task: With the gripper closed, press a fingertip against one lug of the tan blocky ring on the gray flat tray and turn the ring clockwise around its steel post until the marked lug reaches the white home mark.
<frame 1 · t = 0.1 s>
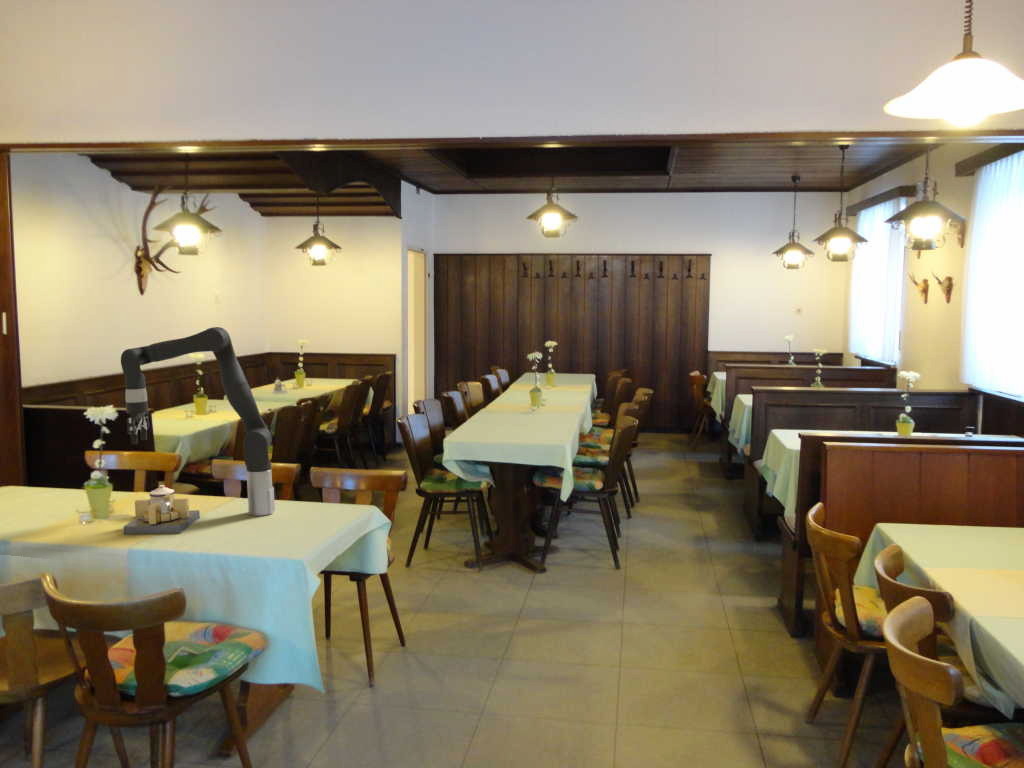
hand: (139, 442, 307), 29 cm above the table, tool pointing down, fingers open, 8 cm apart
teacup with lid: (165, 513, 314), on the table
tan blocky ring: (162, 508, 296), point 7 cm above the table, hinge at 0.0°
gray flat tray: (163, 525, 296), on the table
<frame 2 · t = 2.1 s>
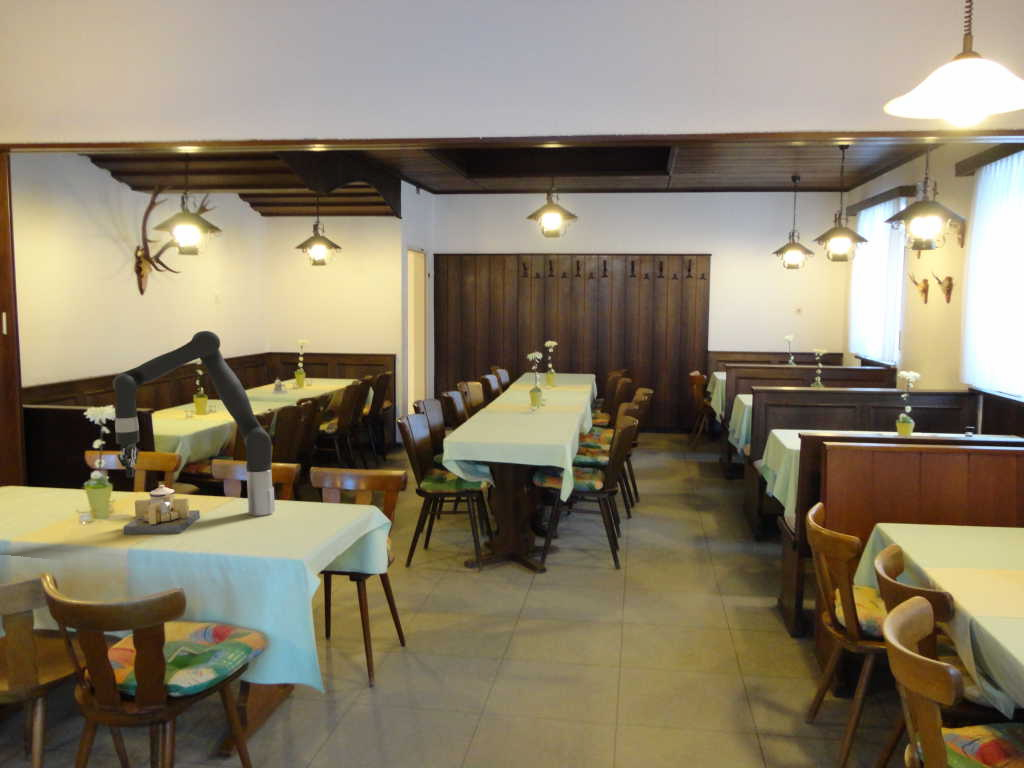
hand: (130, 477, 288), 20 cm above the table, tool pointing down, fingers closed
nothing on the table moved.
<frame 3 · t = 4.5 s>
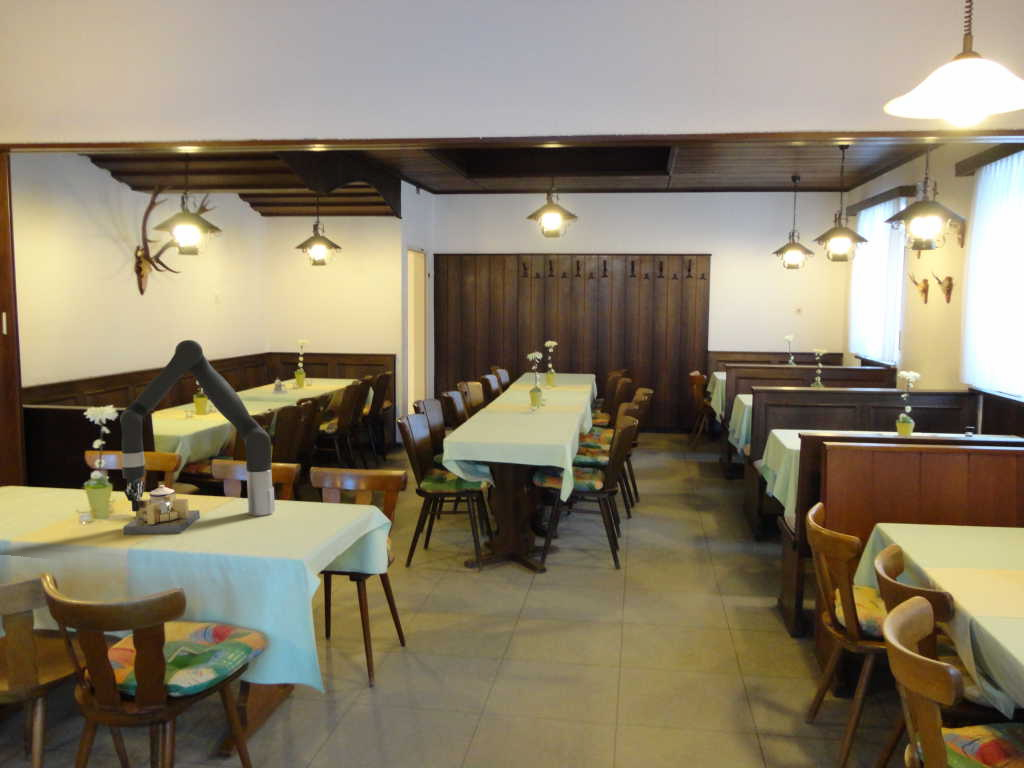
hand: (136, 510, 292), 7 cm above the table, tool pointing down, fingers closed
tan blocky ring: (162, 508, 296), point 7 cm above the table, hinge at -3.3°, touching gripper
everything else where it was.
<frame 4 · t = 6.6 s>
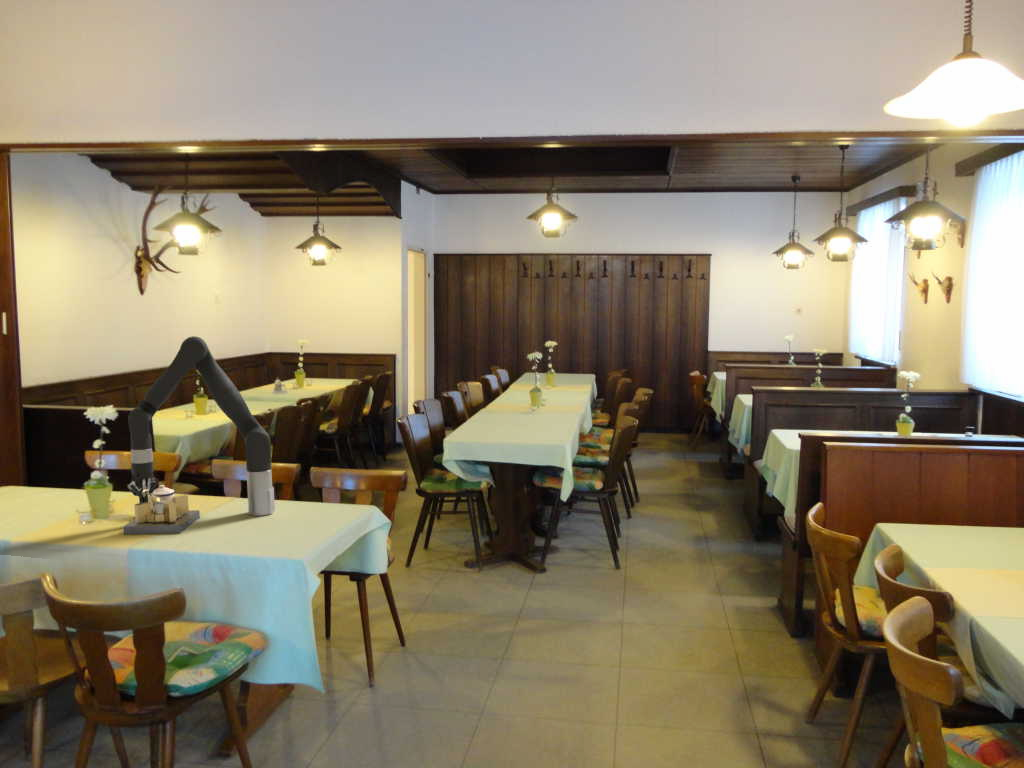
hand: (144, 506, 298), 7 cm above the table, tool pointing down, fingers closed
tan blocky ring: (162, 508, 296), point 7 cm above the table, hinge at -46.9°, touching gripper
everything else where it was.
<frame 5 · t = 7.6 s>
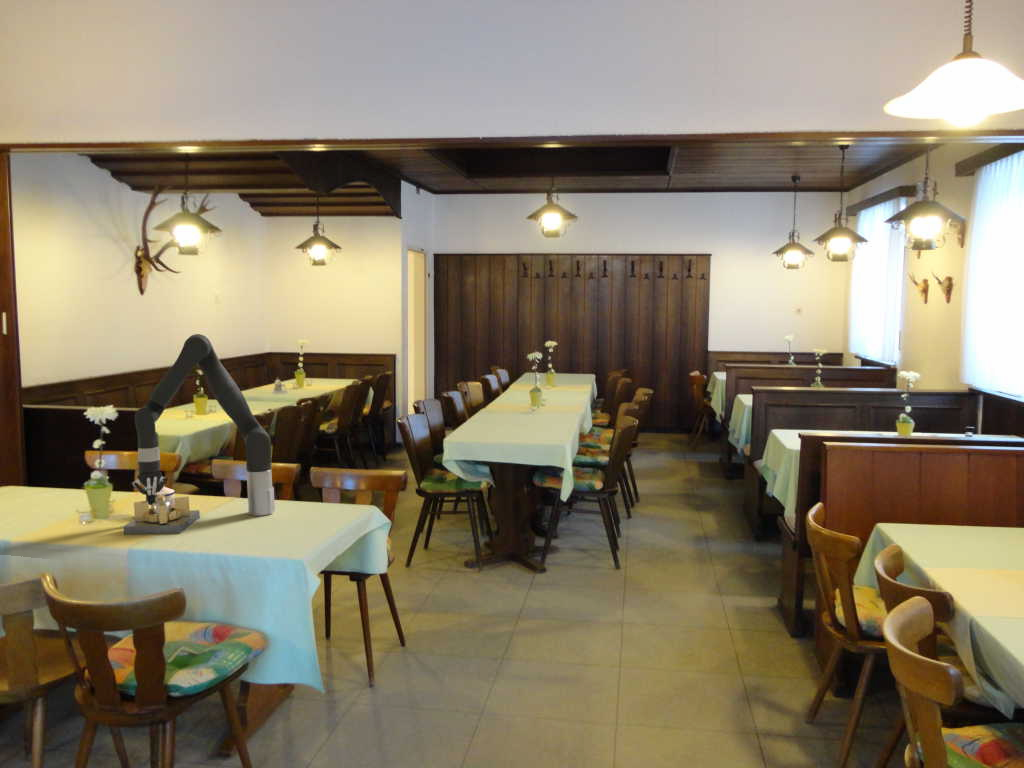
hand: (150, 504, 301), 7 cm above the table, tool pointing down, fingers closed
tan blocky ring: (162, 508, 296), point 7 cm above the table, hinge at -67.2°, touching gripper
everything else where it was.
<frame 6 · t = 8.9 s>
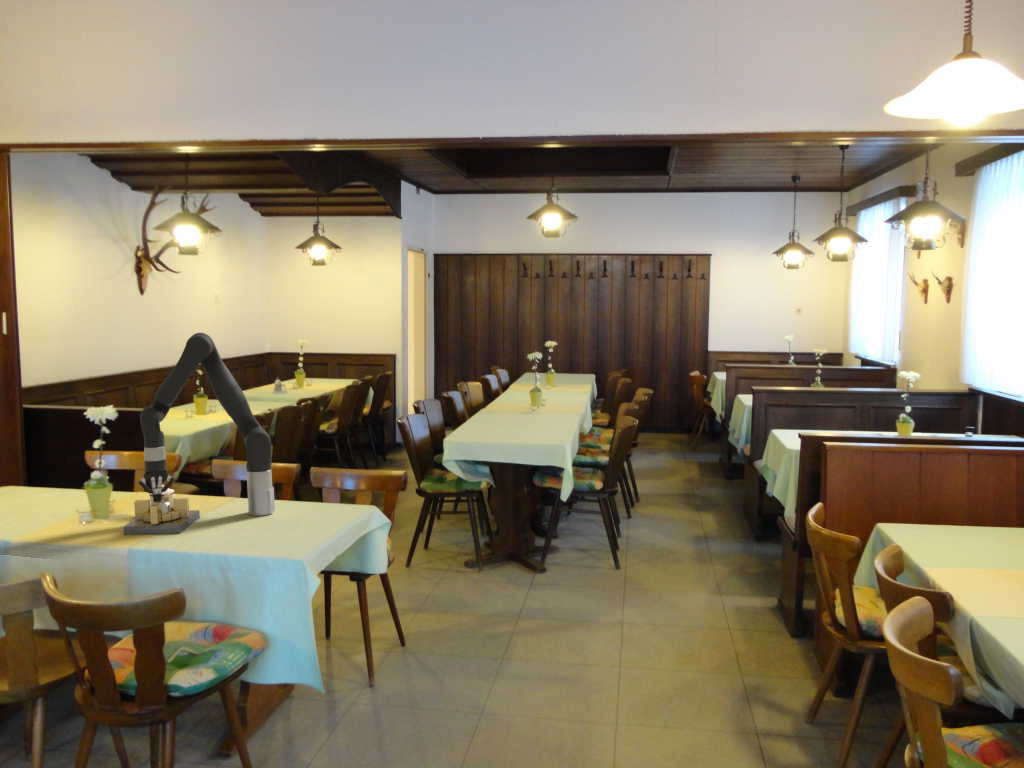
hand: (157, 503, 302), 7 cm above the table, tool pointing down, fingers closed
tan blocky ring: (162, 508, 296), point 7 cm above the table, hinge at -86.0°
everything else where it was.
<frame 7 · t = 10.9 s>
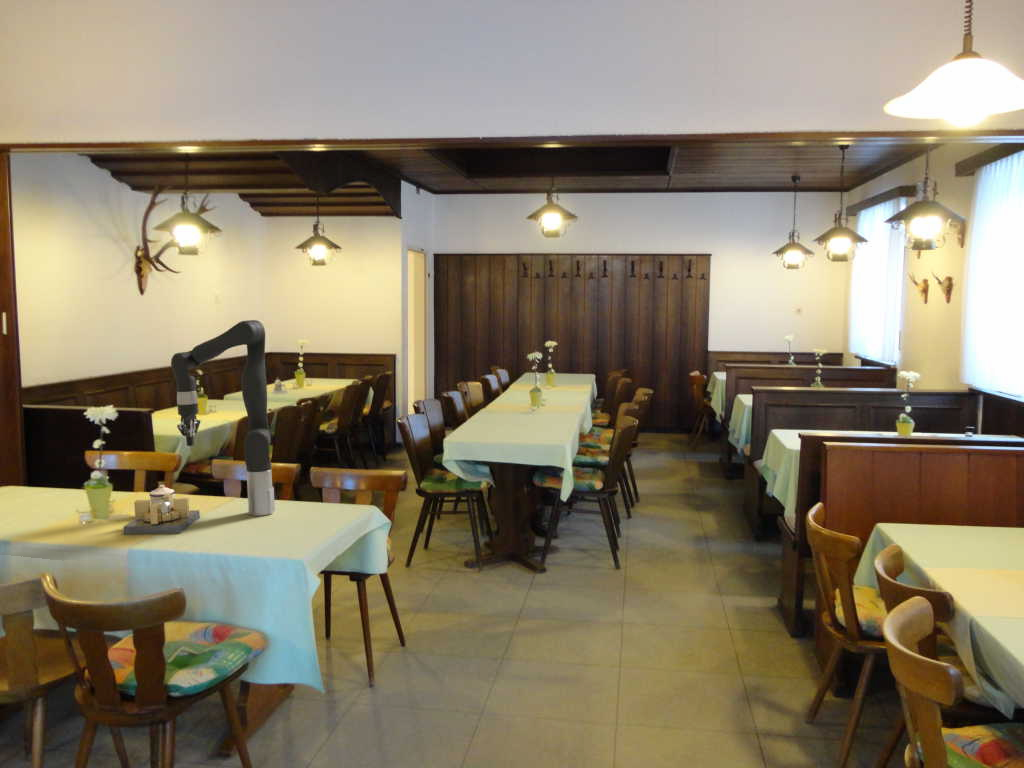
hand: (190, 445, 318), 26 cm above the table, tool pointing down, fingers closed
nothing on the table moved.
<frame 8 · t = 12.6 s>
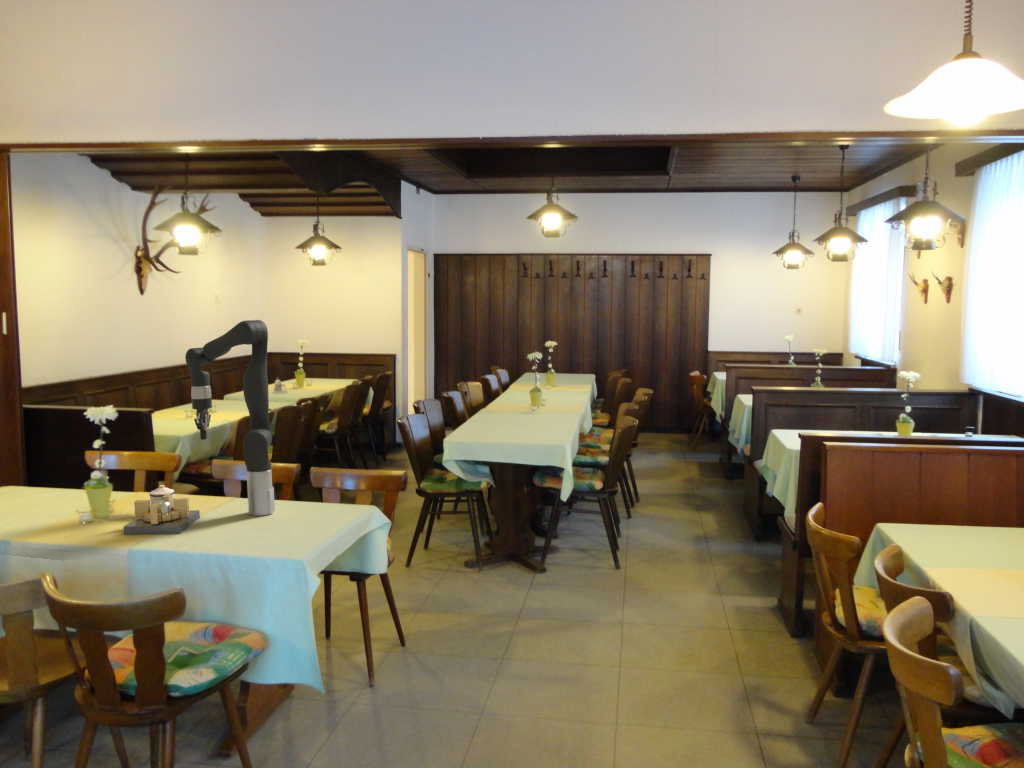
hand: (203, 439, 324), 27 cm above the table, tool pointing down, fingers closed
nothing on the table moved.
at the end: tan blocky ring at -86° (first picture: +0°) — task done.
